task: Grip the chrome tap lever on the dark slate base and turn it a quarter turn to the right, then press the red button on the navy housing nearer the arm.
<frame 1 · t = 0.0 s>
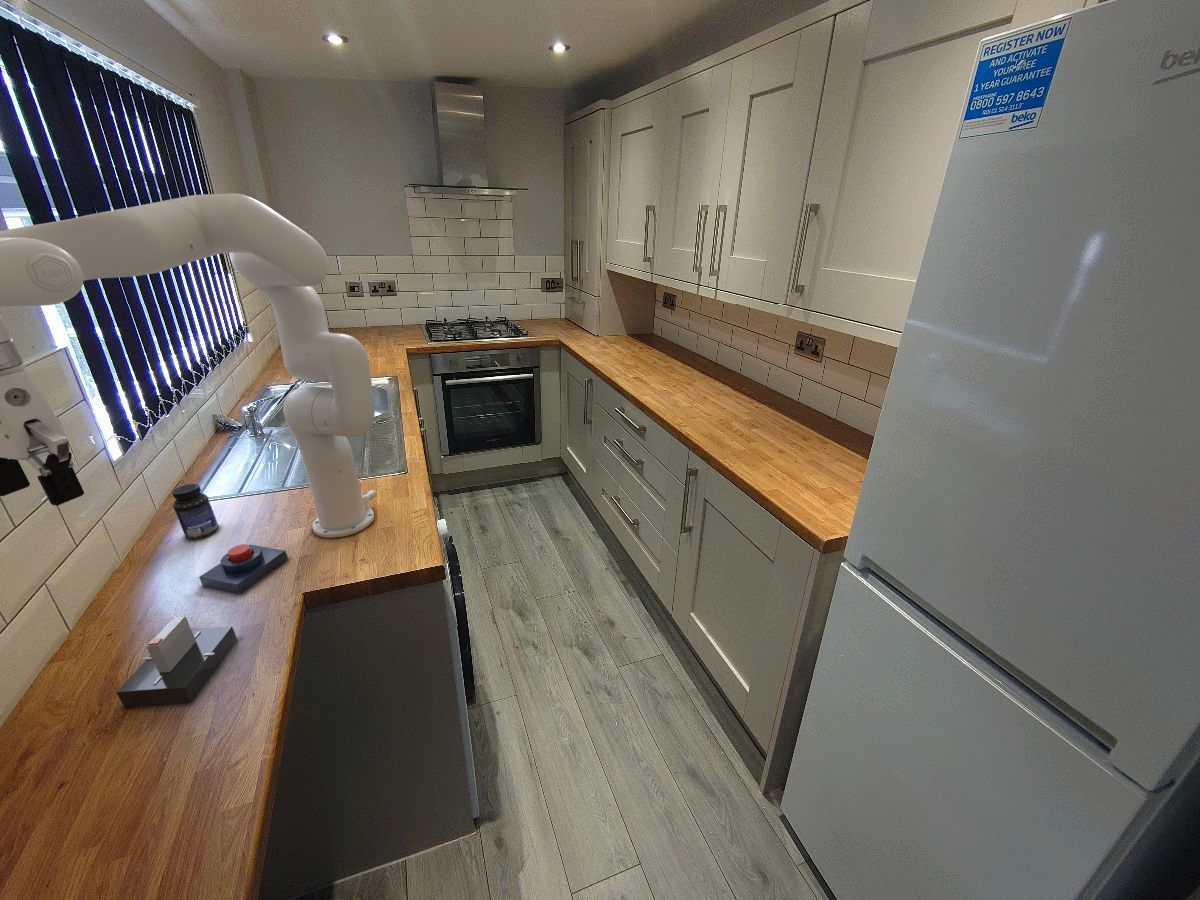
hand: (41, 495, 65), 31 cm above the countertop, tool pointing down, fingers open, 9 cm apart
pill bottle: (202, 533, 115), on the countertop
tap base: (185, 671, 79), on the countertop
tap lever: (172, 643, 77), point 6 cm above the countertop, hinge at 0.0°
button box: (247, 572, 102), on the countertop
button: (240, 553, 100), point 4 cm above the countertop, slide at 0.1 cm
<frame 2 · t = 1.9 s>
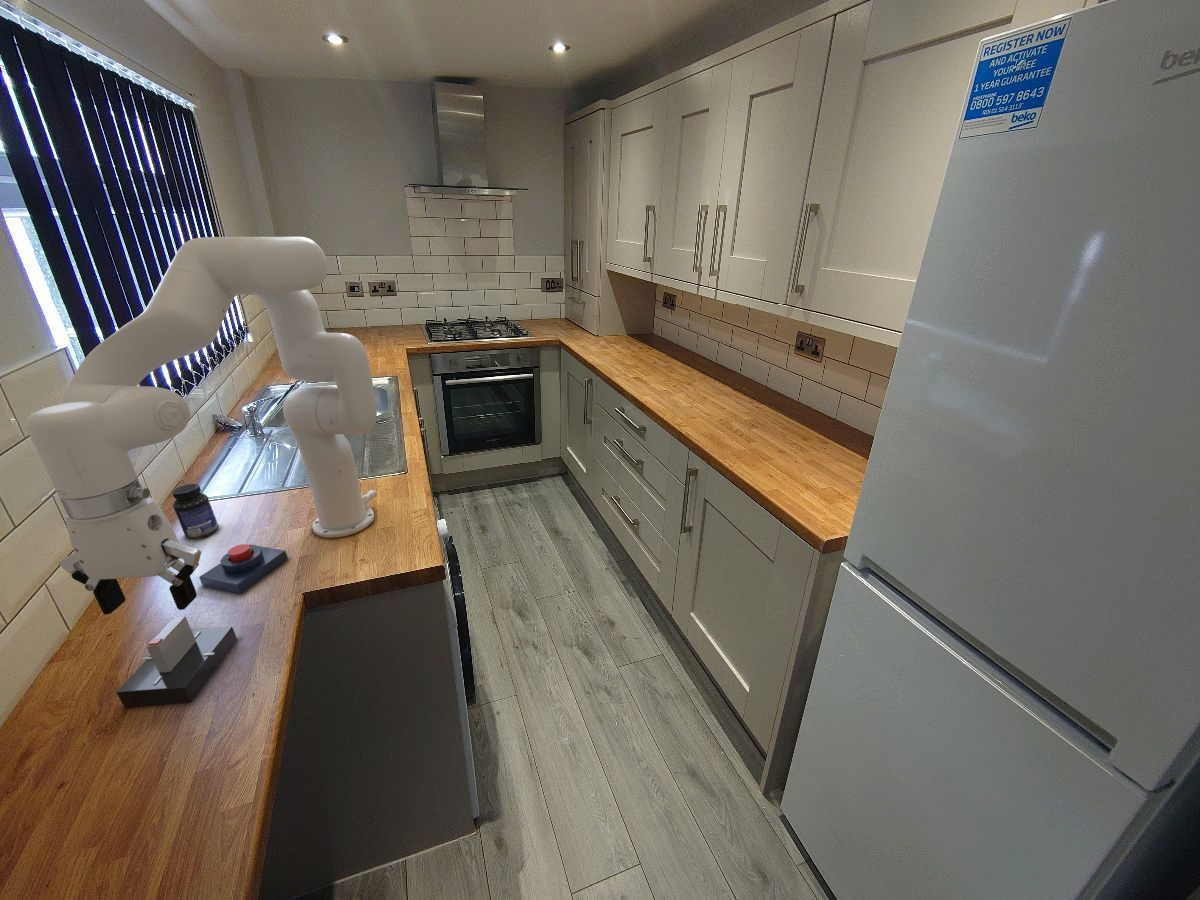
hand: (152, 605, 74), 13 cm above the countertop, tool pointing down, fingers open, 9 cm apart
nothing on the countertop moved.
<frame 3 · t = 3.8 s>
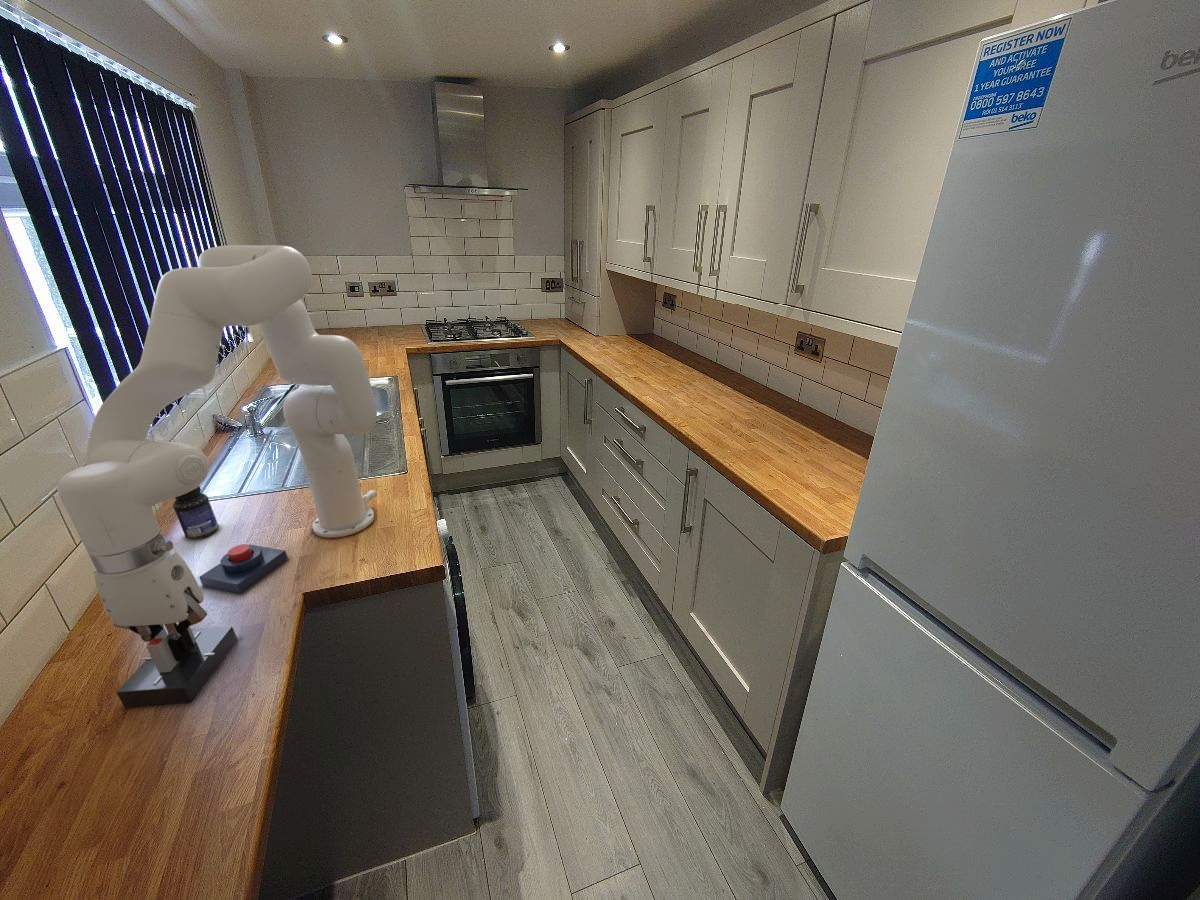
hand: (177, 654, 78), 4 cm above the countertop, tool pointing down, fingers closed on tap lever
tap lever: (172, 643, 77), point 6 cm above the countertop, hinge at 0.0°, touching gripper
everything else where it was.
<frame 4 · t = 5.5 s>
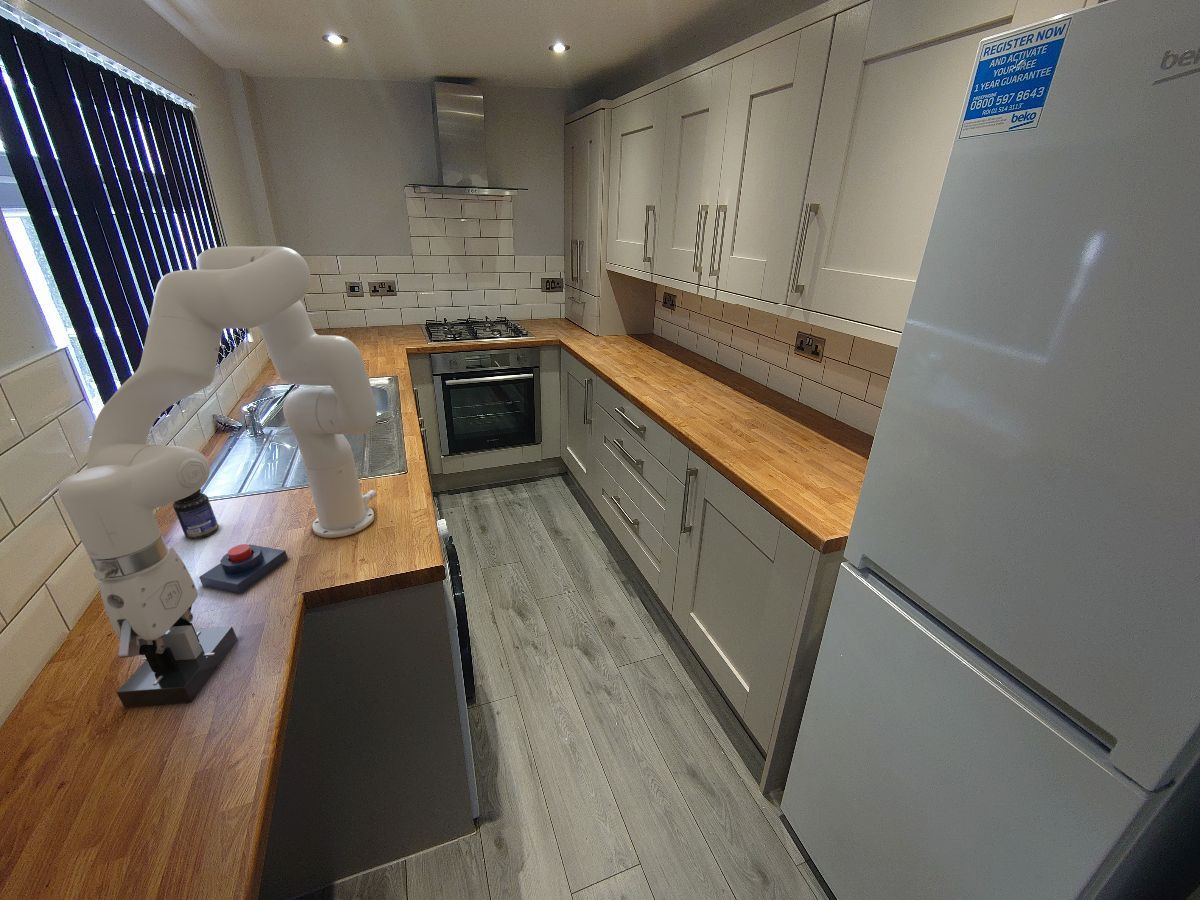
hand: (177, 656, 78), 3 cm above the countertop, tool pointing down, fingers open, 4 cm apart
tap lever: (172, 643, 77), point 6 cm above the countertop, hinge at -90.0°
everything else where it was.
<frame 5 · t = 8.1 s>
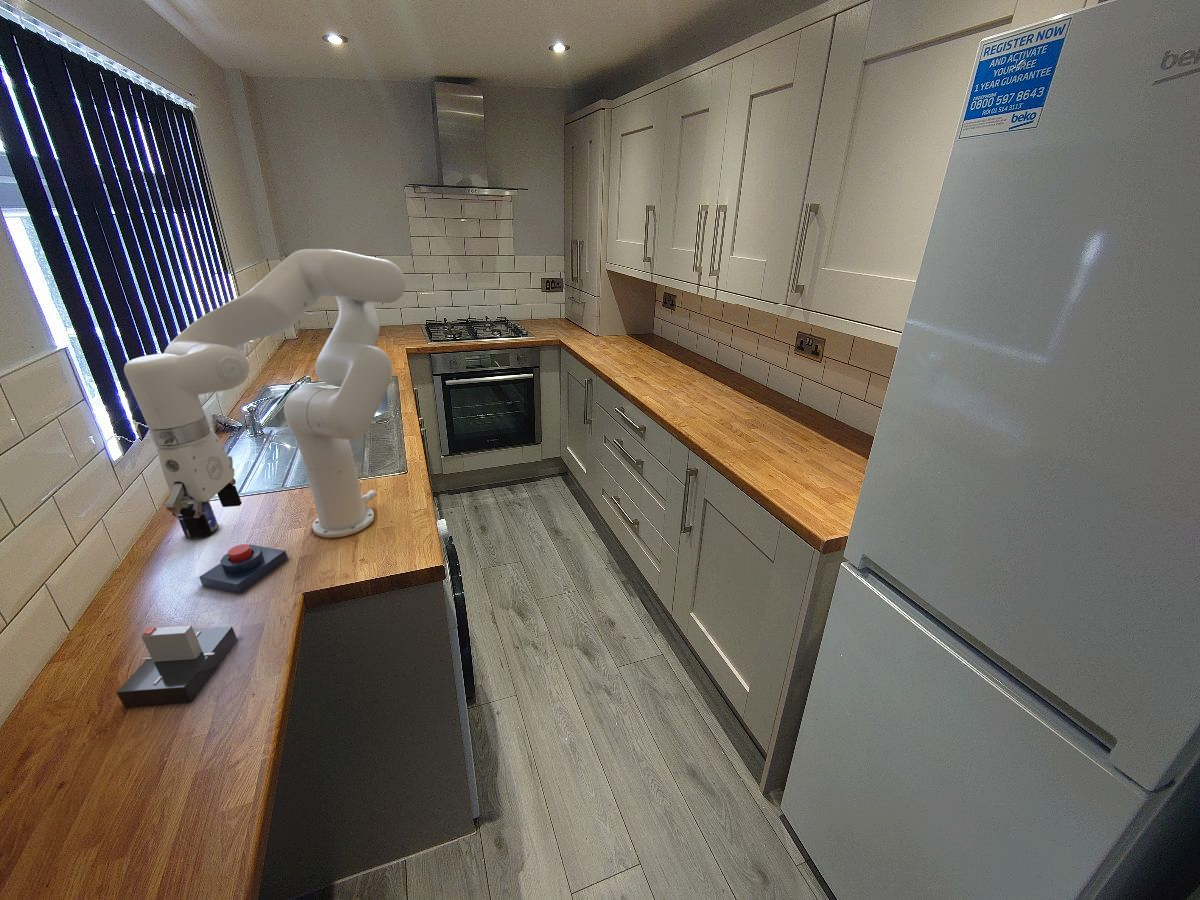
hand: (217, 520, 92), 14 cm above the countertop, tool pointing down, fingers open, 9 cm apart
nothing on the countertop moved.
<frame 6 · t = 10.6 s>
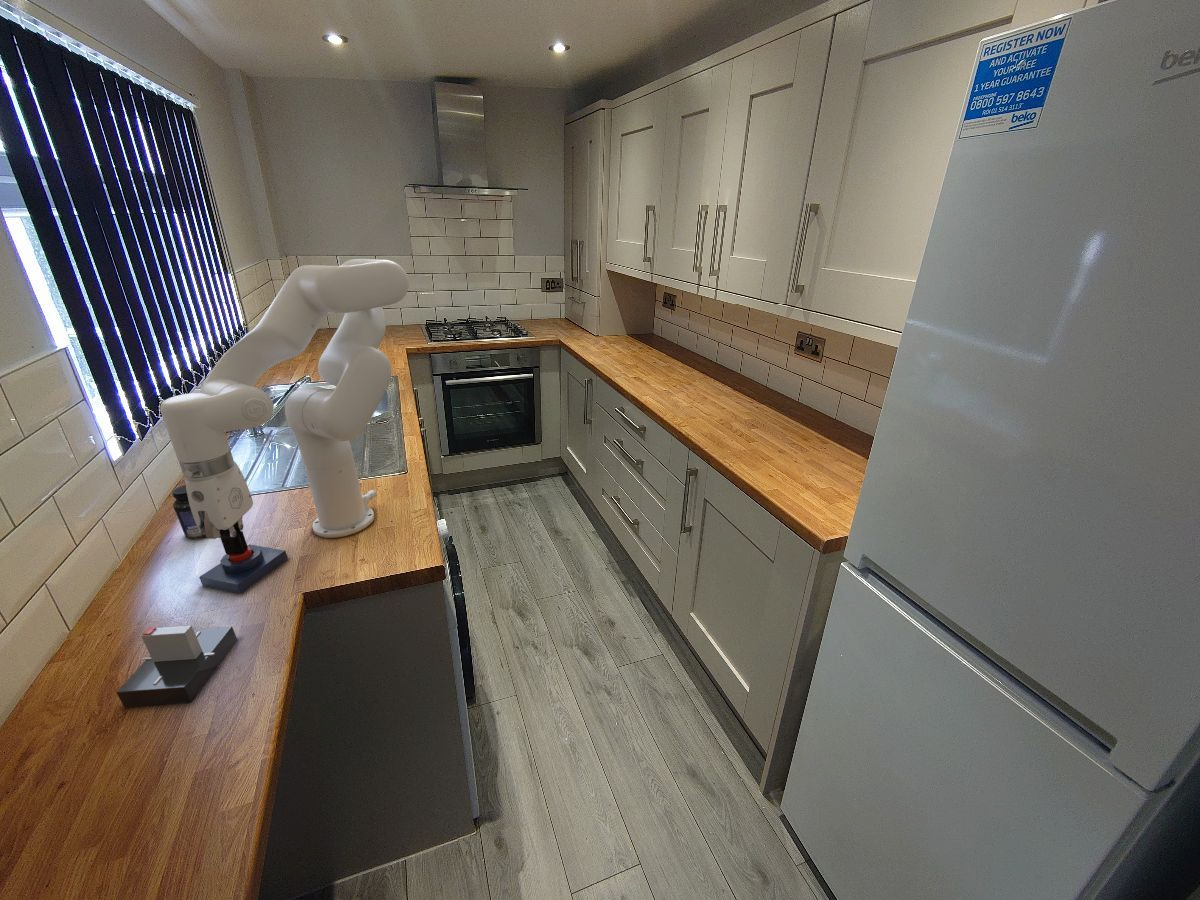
hand: (237, 551, 99), 5 cm above the countertop, tool pointing down, fingers closed
button: (240, 554, 100), point 4 cm above the countertop, slide at -0.2 cm, touching gripper
everything else where it was.
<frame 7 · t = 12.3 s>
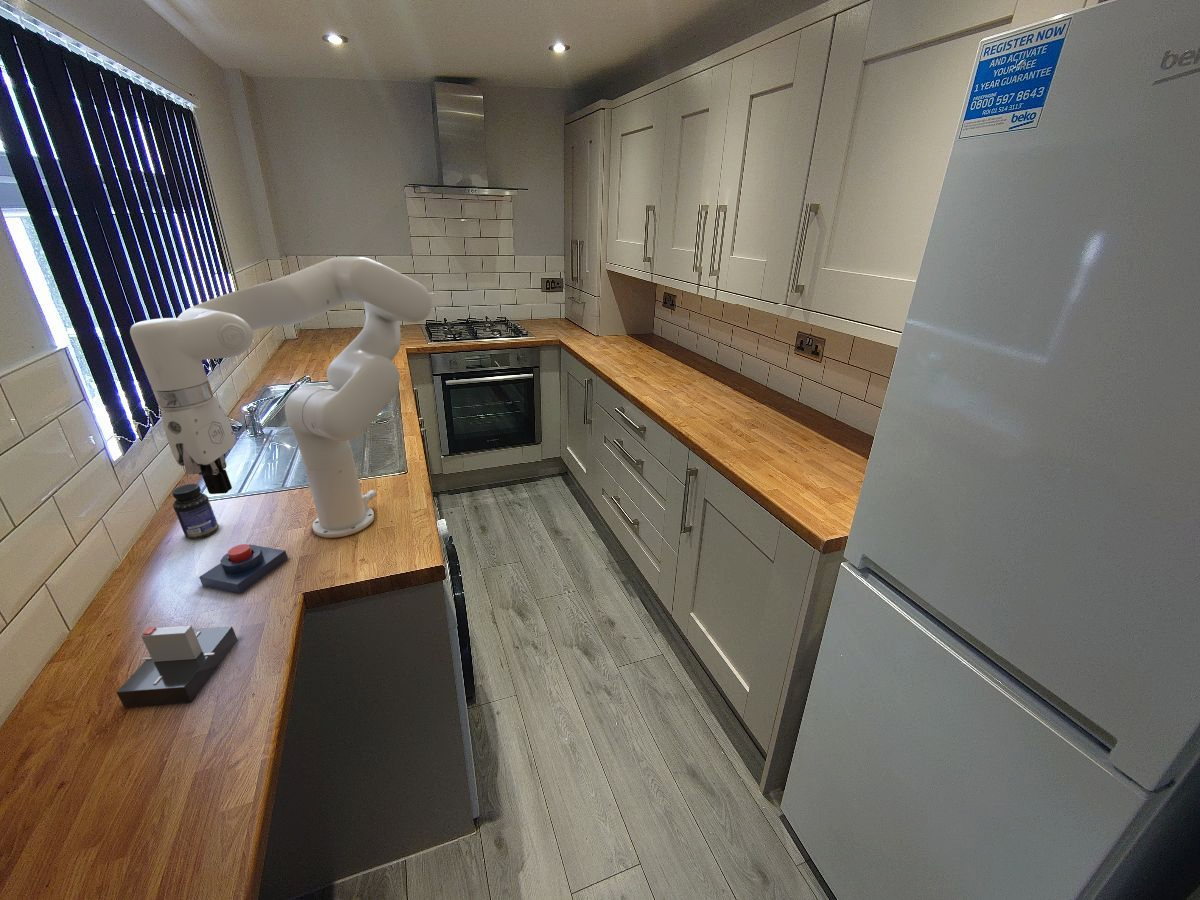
hand: (221, 491, 95), 18 cm above the countertop, tool pointing down, fingers closed
button: (240, 553, 100), point 4 cm above the countertop, slide at 0.1 cm
everything else where it was.
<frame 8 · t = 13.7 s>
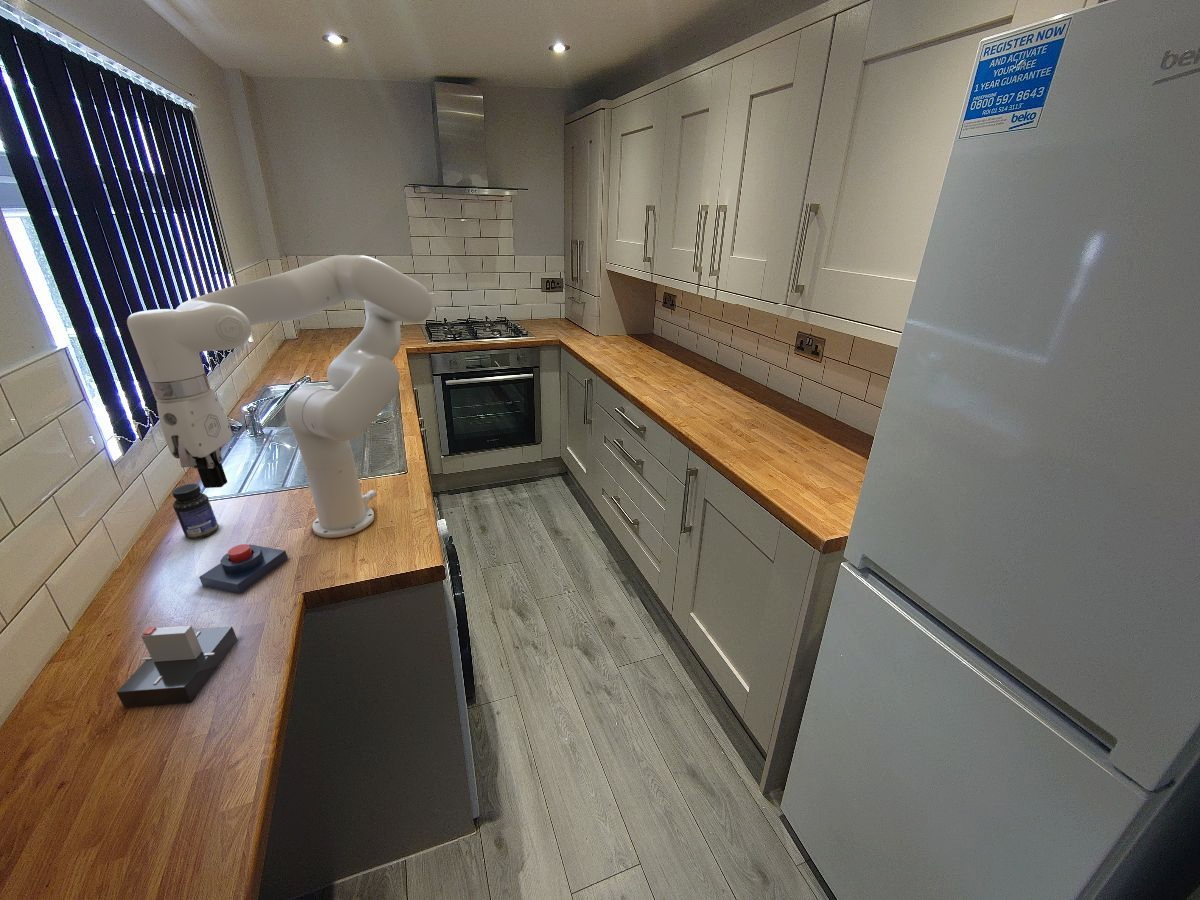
hand: (216, 485, 94), 19 cm above the countertop, tool pointing down, fingers closed
nothing on the countertop moved.
at the end: tap lever at -90° (first picture: +0°); button pushed in 1.0 cm at the most during the clip, back to where it started at the end; button slide at 0.1 cm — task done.
